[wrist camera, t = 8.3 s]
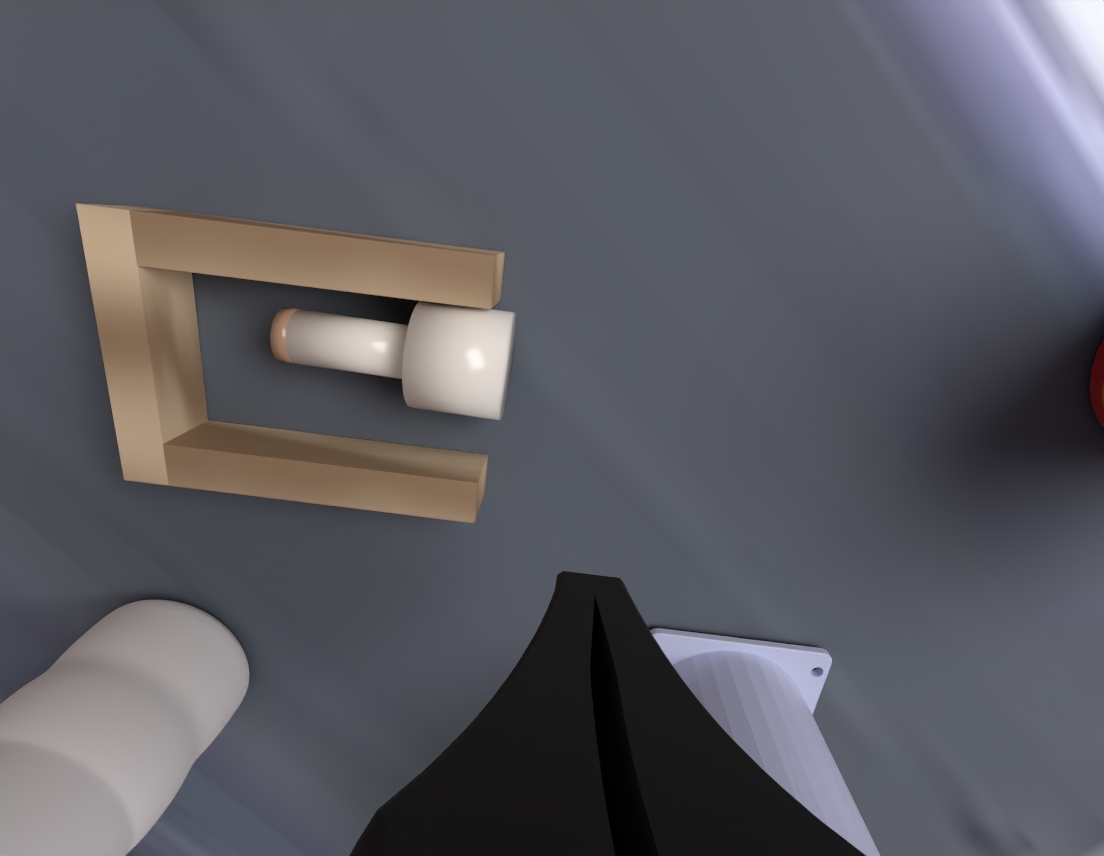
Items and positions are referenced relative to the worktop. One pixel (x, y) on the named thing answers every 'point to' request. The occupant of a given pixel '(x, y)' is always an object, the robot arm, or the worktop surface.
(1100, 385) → the canned food
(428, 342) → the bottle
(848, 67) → the worktop surface
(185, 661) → the water bottle
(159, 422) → the cradle
